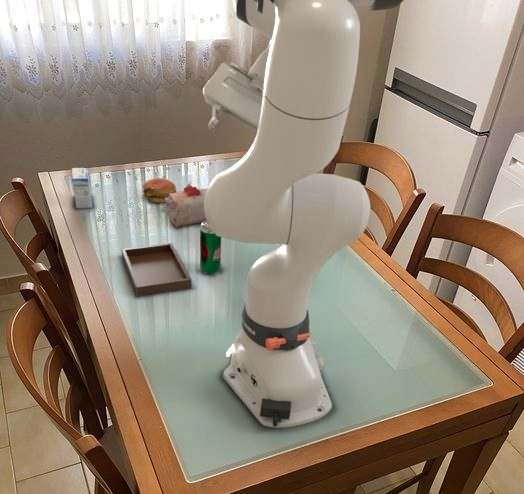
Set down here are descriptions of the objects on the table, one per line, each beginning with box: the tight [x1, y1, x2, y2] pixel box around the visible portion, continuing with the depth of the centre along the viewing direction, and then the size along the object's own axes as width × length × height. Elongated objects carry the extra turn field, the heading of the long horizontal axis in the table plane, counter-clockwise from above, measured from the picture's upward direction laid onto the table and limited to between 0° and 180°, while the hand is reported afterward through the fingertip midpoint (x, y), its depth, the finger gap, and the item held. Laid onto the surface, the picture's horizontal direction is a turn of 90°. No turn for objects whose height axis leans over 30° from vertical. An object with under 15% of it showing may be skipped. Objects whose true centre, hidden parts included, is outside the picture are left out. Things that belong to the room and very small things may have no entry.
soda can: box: [199, 221, 222, 275], centre depth 126 cm, size 5×5×12 cm
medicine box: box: [70, 167, 93, 209], centre depth 150 cm, size 8×4×9 cm, turn 17°
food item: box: [165, 183, 208, 228], centre depth 146 cm, size 14×8×10 cm, turn 117°
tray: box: [121, 242, 192, 297], centre depth 127 cm, size 18×13×2 cm
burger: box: [142, 177, 177, 204], centre depth 158 cm, size 10×9×5 cm
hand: (231, 140), depth 105 cm, fingers open, 8 cm apart
